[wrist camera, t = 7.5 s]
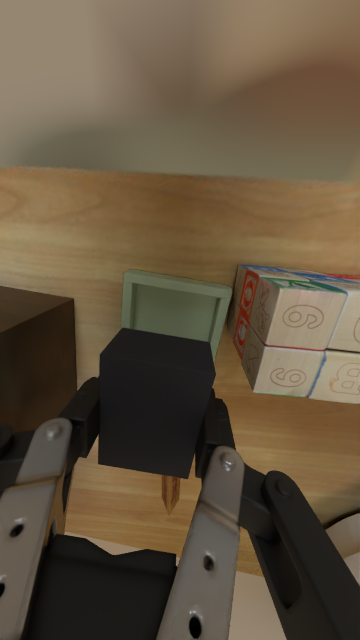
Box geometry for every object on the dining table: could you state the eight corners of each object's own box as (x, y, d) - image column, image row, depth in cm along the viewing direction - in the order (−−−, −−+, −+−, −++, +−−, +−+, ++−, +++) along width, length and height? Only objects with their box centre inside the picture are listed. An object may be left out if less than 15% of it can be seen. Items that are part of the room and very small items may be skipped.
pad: (122, 327, 11) (99, 354, 8) (210, 341, 11) (216, 373, 8) (117, 419, 14) (97, 464, 11) (188, 431, 14) (188, 479, 11)
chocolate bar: (181, 441, 26) (180, 458, 24) (179, 498, 30) (178, 517, 28) (161, 439, 26) (158, 457, 24) (161, 496, 30) (159, 515, 28)
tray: (130, 268, 18) (123, 271, 16) (228, 285, 18) (232, 290, 16) (121, 412, 25) (115, 427, 23) (193, 425, 25) (193, 440, 23)
